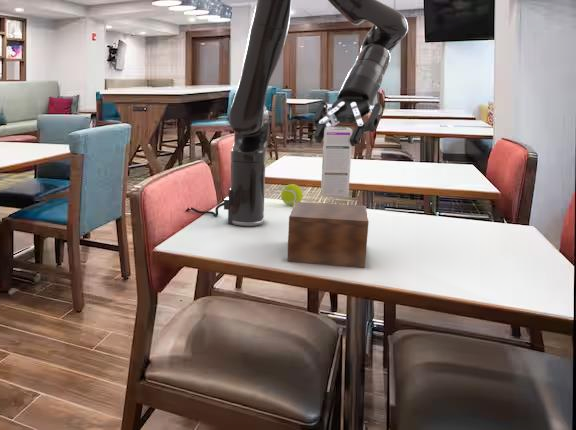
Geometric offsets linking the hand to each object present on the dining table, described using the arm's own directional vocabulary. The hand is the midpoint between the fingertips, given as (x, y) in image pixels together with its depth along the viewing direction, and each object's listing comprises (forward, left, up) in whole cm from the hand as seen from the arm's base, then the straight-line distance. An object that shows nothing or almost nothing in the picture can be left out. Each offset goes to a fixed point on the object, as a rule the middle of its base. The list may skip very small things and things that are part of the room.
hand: (334, 142), depth 114 cm
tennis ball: (-12, +49, -25) cm, 56 cm away
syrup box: (+1, +1, -12) cm, 12 cm away
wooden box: (0, +1, -25) cm, 25 cm away
